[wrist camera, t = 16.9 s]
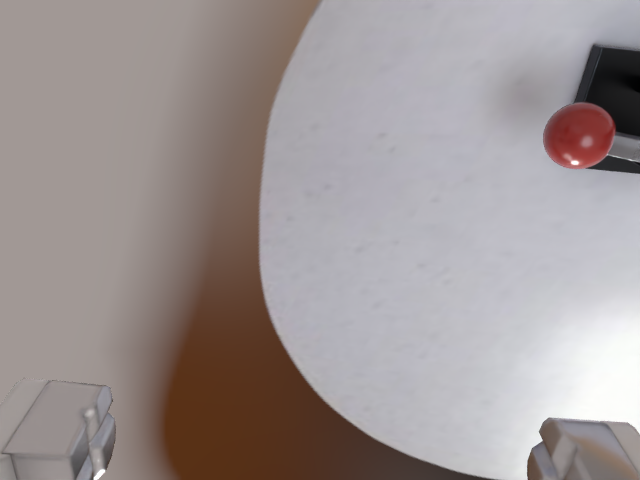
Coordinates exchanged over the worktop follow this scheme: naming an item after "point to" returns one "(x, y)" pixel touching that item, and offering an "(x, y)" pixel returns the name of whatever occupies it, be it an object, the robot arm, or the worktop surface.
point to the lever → (586, 137)
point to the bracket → (614, 95)
